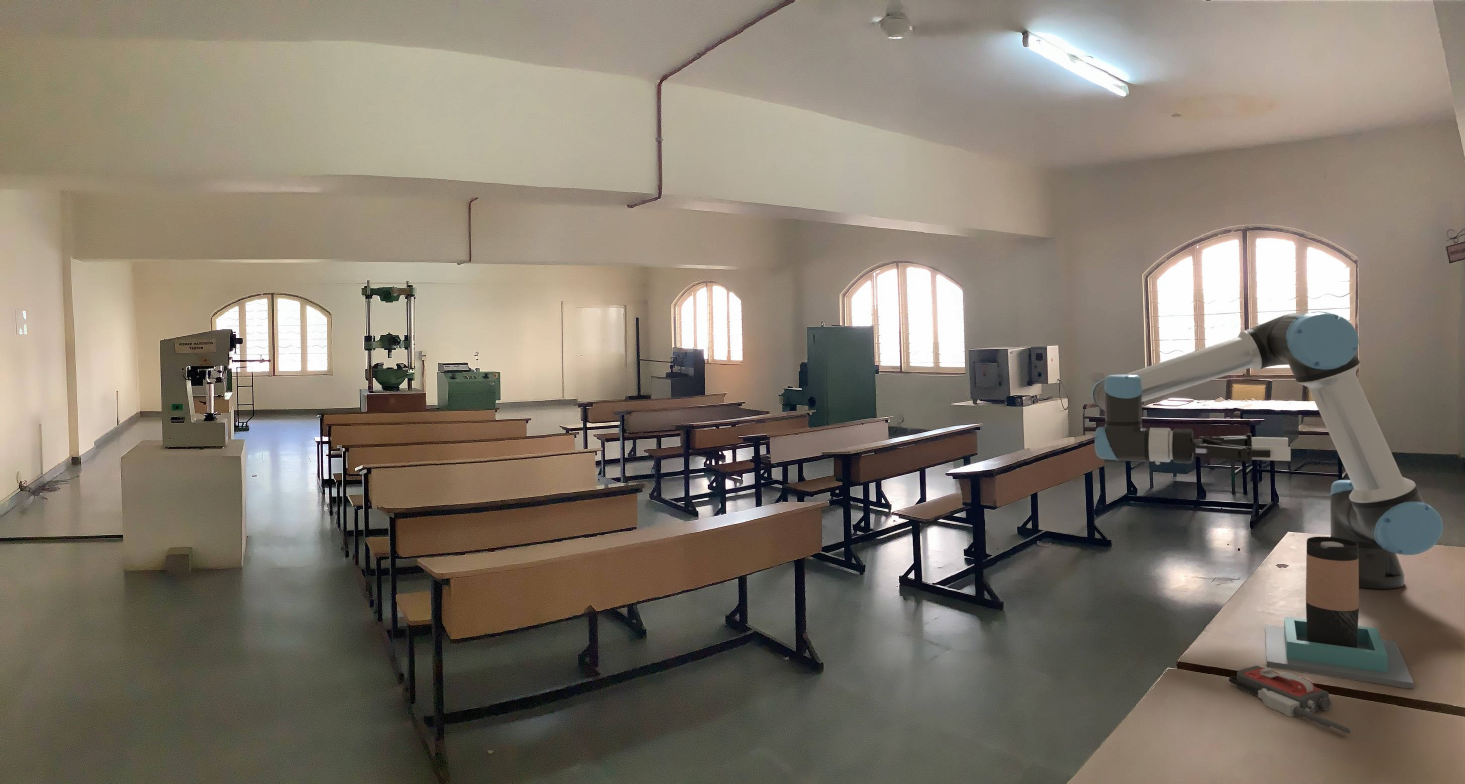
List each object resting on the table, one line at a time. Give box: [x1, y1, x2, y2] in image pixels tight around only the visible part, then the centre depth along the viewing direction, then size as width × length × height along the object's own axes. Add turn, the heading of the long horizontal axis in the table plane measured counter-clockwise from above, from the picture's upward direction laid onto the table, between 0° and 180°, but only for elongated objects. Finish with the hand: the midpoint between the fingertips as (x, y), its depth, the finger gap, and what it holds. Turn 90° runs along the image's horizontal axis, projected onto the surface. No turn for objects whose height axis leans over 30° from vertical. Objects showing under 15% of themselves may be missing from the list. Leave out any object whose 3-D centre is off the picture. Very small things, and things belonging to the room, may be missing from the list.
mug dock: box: [1264, 616, 1415, 690], centre depth 146 cm, size 20×20×4 cm
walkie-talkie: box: [1228, 665, 1351, 735], centre depth 128 cm, size 9×4×20 cm
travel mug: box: [1305, 536, 1360, 648], centre depth 145 cm, size 8×8×20 cm
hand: (1289, 449), depth 167 cm, fingers open, 13 cm apart
